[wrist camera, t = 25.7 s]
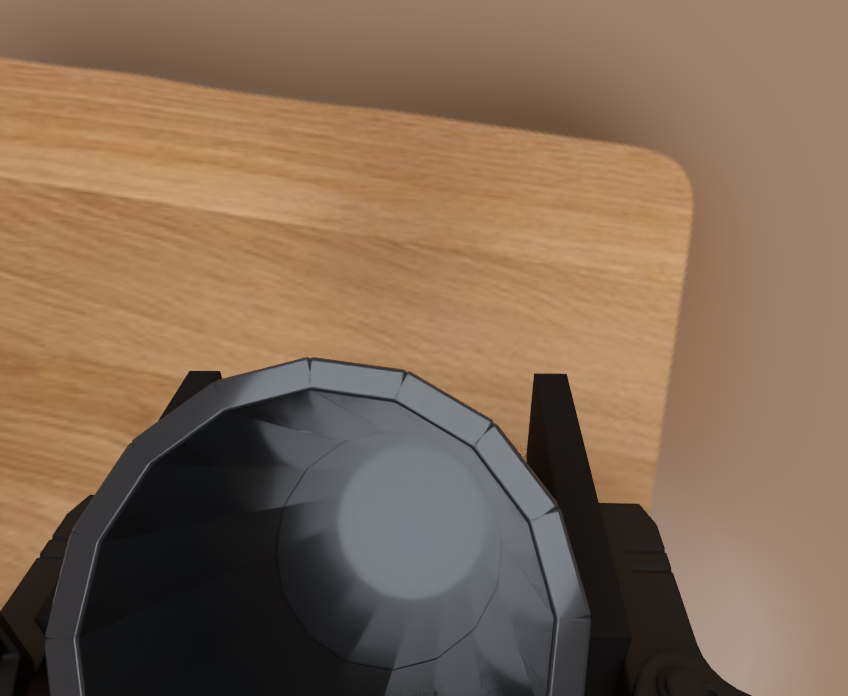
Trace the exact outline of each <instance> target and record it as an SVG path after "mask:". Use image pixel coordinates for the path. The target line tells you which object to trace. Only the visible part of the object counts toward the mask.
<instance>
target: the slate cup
mask: <svg viewBox="0 0 848 696" xmlns="http://www.w3.org/2000/svg"><path fill="white" fill-rule="evenodd" d="M590 615H591V611H590V608H589V604H588V601H587V597H586V594H585V590H584V587H583V583H582V580H581V576H580V573H579V569H578V566H577V563H576V559H575V556H574V552H573V549H572V545H571V542H570V538H569V535H568V531H567V528H566V524H565V521H564V517H563V514H562V511H561V509H560V508H558V503H557V502H556V500H555V499H554V498H553V497H552V495H551V494H550V493H549V491H548V490H547V489H546V487H545V486H544V485H543V483H542V482H541V481H540V480H539V478H538V477H537V476H536V474H535V473H534V472H533V470H532V469H531V468H530V467H529V465H528V464H527V463H526V461H525V460H524V459H523V457H522V456H521V455H520V454H519V452H518V451H517V450H516V448H515V447H514V446H513V444H512V443H511V442H510V440H509V439H508V438H507V437H506V435H505V434H504V433H503V431H502V430H501V429H500V427H499V426H498V425H497V424H495V423H494V424H493V421H492V419H490V418H488V417H487V416H485V415H483V414H482V413H480V412H478V411H476V410H475V409H473V408H471V407H470V406H468V405H466V404H464V403H463V402H461V401H459V400H458V399H456V398H454V397H453V396H451V395H449V394H447V393H446V392H444V391H442V390H441V389H439V388H437V387H435V386H434V385H432V384H430V383H429V382H427V381H425V380H424V379H422V378H420V377H418V376H417V375H415V374H413V373H412V372H406V371H405V370H403V369H395V368H388V367H381V366H374V365H367V364H359V363H352V362H345V361H338V360H330V359H323V358H316V357H313V358H311V359H310V358H308V357H306V358H302V359H298V360H294V361H290V362H286V363H282V364H278V365H275V366H271V367H267V368H263V369H259V370H255V371H251V372H247V373H243V374H239V375H235V376H232V377H228V378H224V379H220V380H217V381H215V383H211V384H209V385H208V386H207V387H205V388H204V389H203V390H201V391H200V392H198V393H197V394H196V395H194V396H193V397H191V398H190V399H189V400H187V401H186V402H184V403H183V404H182V405H180V406H179V407H178V408H176V409H175V410H173V411H172V412H171V413H169V414H168V415H166V416H165V417H164V418H162V419H161V420H159V421H158V422H157V423H155V424H154V425H152V426H151V427H150V428H148V429H147V430H146V431H144V432H143V433H141V434H140V435H139V436H137V437H136V438H134V439H133V441H132V443H130V444H129V445H128V446H127V448H126V449H125V451H124V452H123V454H122V455H121V457H120V458H119V460H118V461H117V463H116V464H115V466H114V467H113V469H112V470H111V472H110V473H109V475H108V476H107V478H106V479H105V481H104V482H103V483H102V485H101V486H100V488H99V489H98V491H97V492H96V494H95V495H94V497H93V498H92V500H91V501H90V503H89V504H88V506H87V507H86V509H85V510H84V512H83V513H82V515H81V516H80V518H79V519H78V521H77V522H76V524H75V525H74V527H73V531H72V532H71V534H70V536H69V540H68V544H67V548H66V552H65V556H64V560H63V564H62V568H61V572H60V576H59V580H58V584H57V588H56V592H55V596H54V600H53V604H52V608H51V612H50V616H49V620H48V624H47V628H46V632H45V638H46V640H45V642H44V647H45V656H46V665H47V674H48V683H49V692H50V696H585V689H586V678H587V667H588V655H589V644H590V633H591V618H590V617H589V616H590Z"/></svg>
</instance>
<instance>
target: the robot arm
mask: <svg viewBox="0 0 848 696" xmlns="http://www.w3.org/2000/svg"><path fill="white" fill-rule="evenodd" d="M220 379H222V377H221V373H220V371H189V373H188V374H187V376H186V378H185V379H184V381H183V382H182V384H181V386H180V387H179V389H178V390H177V392H176V394H175V395H174V397H173V398H172V400H171V401H170V403H169V405H168V406H167V408H166V409H165V411H164V413H163V414H162V416H161V417H160V419H159V420H161V419H162V418H164V417H165V416H166V415H168V414H169V413H171V412H172V411H173V410H175V409H176V408H178V407H179V406H180V405H182V404H183V403H184V402H186V401H187V400H189V399H190V398H191V397H193V396H194V395H196V394H197V393H198V392H200V391H201V390H203V389H204V388H205V387H207V386H208V385H209V384H211V383H215V381H217V380H220ZM526 459H527V464H528V465H529V467H530V468H531V469H532V470H533V472H534V473H535V474H536V476H537V477H538V478H539V480H540V481H541V482H542V483H543V485H544V486H545V487H546V489H547V490H548V491H549V493H550V494H551V495H552V497H553V498H554V499H555V500H556V502H557V503H558V508H560V509H561V511H562V514H563V517H564V521H565V524H566V528H567V531H568V535H569V538H570V542H571V545H572V549H573V552H574V556H575V559H576V563H577V566H578V569H579V573H580V576H581V580H582V583H583V587H584V590H585V594H586V597H587V601H588V604H589V608H590V611H591V615H590V616H589V617H590V618H591V633H590V644H589V655H588V667H587V678H586V689H585V696H751V695H749V694H747V693H745V692H742V691H740V690H738V689H736V688H735V687H733V686H732V685H730V684H729V683H727V682H726V681H724V680H723V679H722V678H721V677H720V676H719V675H718V674H717V673H716V672H715V671H714V670H712V669H711V667H710V666H709V664H708V663H707V662H706V660H705V659H704V658H703V656H702V654H701V652H700V649H699V647H698V645H697V643H696V640H695V637H694V634H693V631H692V628H691V625H690V622H689V619H688V616H687V613H686V610H685V607H684V604H683V601H682V598H681V595H680V592H679V590H678V587H677V584H676V581H675V578H674V575H673V573H672V572H671V566H670V563H669V560H668V557H667V554H666V553H665V551H664V549H665V548H664V545H663V542H662V539H661V536H660V533H659V530H658V527H657V525H656V524H655V522H654V521H653V520H652V519H651V517H650V516H649V515H648V514H647V513H646V512H645V510H644V509H643V508H642V507H641V506H640V504H619V503H598V499H597V495H596V491H595V486H594V482H593V478H592V474H591V470H590V466H589V462H588V458H587V454H586V450H585V446H584V442H583V438H582V434H581V430H580V426H579V422H578V418H577V414H576V410H575V406H574V402H573V398H572V394H571V390H570V386H569V382H568V378H567V374H534V381H533V392H532V403H531V414H530V425H529V435H528V446H527V457H526ZM93 497H94V495H89V496H88V497H87V498H86V499H85V500H83V501H82V502H81V503H80V504H79V505H77V506H76V507H75V508H74V509H73V510H71V511H70V512H69V513H68V514H67V515H66V517H65V518H64V520H63V521H62V522H61V524H60V525H59V527H58V528H57V530H56V531H55V533H54V534H53V536H52V537H53V538H52V540H49V541H48V543H47V544H46V546H45V547H44V549H43V550H42V552H41V553H40V558H37V559H36V560H35V562H34V563H33V565H32V566H31V568H30V569H29V571H28V572H27V574H26V575H25V576H24V578H23V579H22V581H21V582H20V584H19V585H18V587H17V588H16V590H15V591H14V593H13V594H12V595H11V597H10V598H9V600H8V601H7V603H6V604H5V606H4V607H3V609H2V610H1V611H0V696H50V692H49V683H48V674H47V665H46V656H45V647H44V642H45V640H46V638H45V632H46V628H47V624H48V620H49V616H50V612H51V608H52V604H53V600H54V596H55V592H56V588H57V584H58V580H59V576H60V572H61V568H62V564H63V560H64V556H65V552H66V548H67V544H68V540H69V536H70V534H71V532H72V531H73V527H74V525H75V524H76V522H77V521H78V519H79V518H80V516H81V515H82V513H83V512H84V510H85V509H86V507H87V506H88V504H89V503H90V501H91V500H92V498H93Z"/></svg>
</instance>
